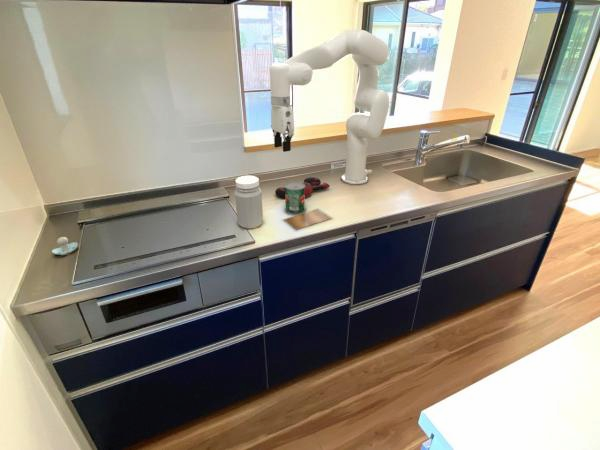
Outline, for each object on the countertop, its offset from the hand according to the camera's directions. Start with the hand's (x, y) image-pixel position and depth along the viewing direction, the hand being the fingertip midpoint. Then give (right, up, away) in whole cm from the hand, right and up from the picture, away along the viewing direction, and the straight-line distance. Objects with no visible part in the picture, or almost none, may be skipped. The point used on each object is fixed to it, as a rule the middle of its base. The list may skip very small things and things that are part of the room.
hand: (282, 148), depth 135 cm
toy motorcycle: (+9, -16, +20) cm, 27 cm away
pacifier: (-71, -39, -21) cm, 84 cm away
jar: (-12, -30, -4) cm, 32 cm away
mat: (+10, -28, -2) cm, 30 cm away
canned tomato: (+5, -24, +5) cm, 25 cm away
